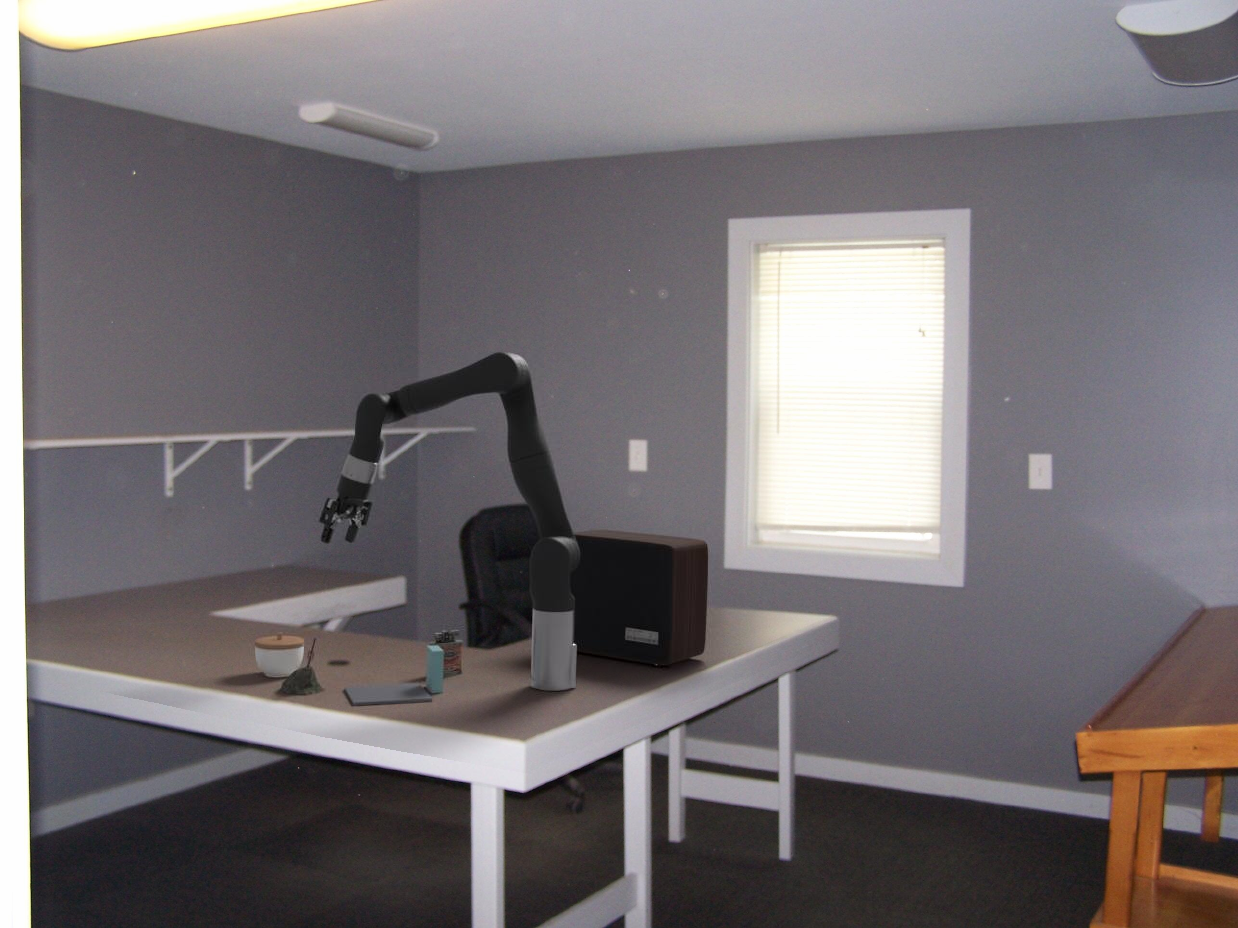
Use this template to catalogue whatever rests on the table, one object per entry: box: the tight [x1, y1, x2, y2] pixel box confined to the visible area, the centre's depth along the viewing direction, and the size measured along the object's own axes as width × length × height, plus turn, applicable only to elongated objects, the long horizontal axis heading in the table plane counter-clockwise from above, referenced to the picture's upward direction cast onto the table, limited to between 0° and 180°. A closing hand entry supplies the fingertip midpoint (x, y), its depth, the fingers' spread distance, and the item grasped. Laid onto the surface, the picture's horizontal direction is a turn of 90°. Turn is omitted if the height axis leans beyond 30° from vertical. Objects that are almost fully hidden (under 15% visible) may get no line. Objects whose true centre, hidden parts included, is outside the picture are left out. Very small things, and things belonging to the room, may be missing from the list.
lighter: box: [429, 629, 464, 677], centre depth 278 cm, size 8×3×10 cm, turn 126°
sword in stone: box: [280, 637, 325, 696], centre depth 259 cm, size 10×8×12 cm
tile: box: [425, 645, 444, 694], centre depth 263 cm, size 2×6×9 cm, turn 20°
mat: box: [344, 682, 433, 707], centre depth 256 cm, size 16×14×1 cm
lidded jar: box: [254, 632, 305, 678], centre depth 273 cm, size 11×11×9 cm
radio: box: [570, 529, 709, 666], centre depth 305 cm, size 36×18×30 cm, turn 56°
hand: (337, 541), depth 282 cm, fingers open, 8 cm apart
